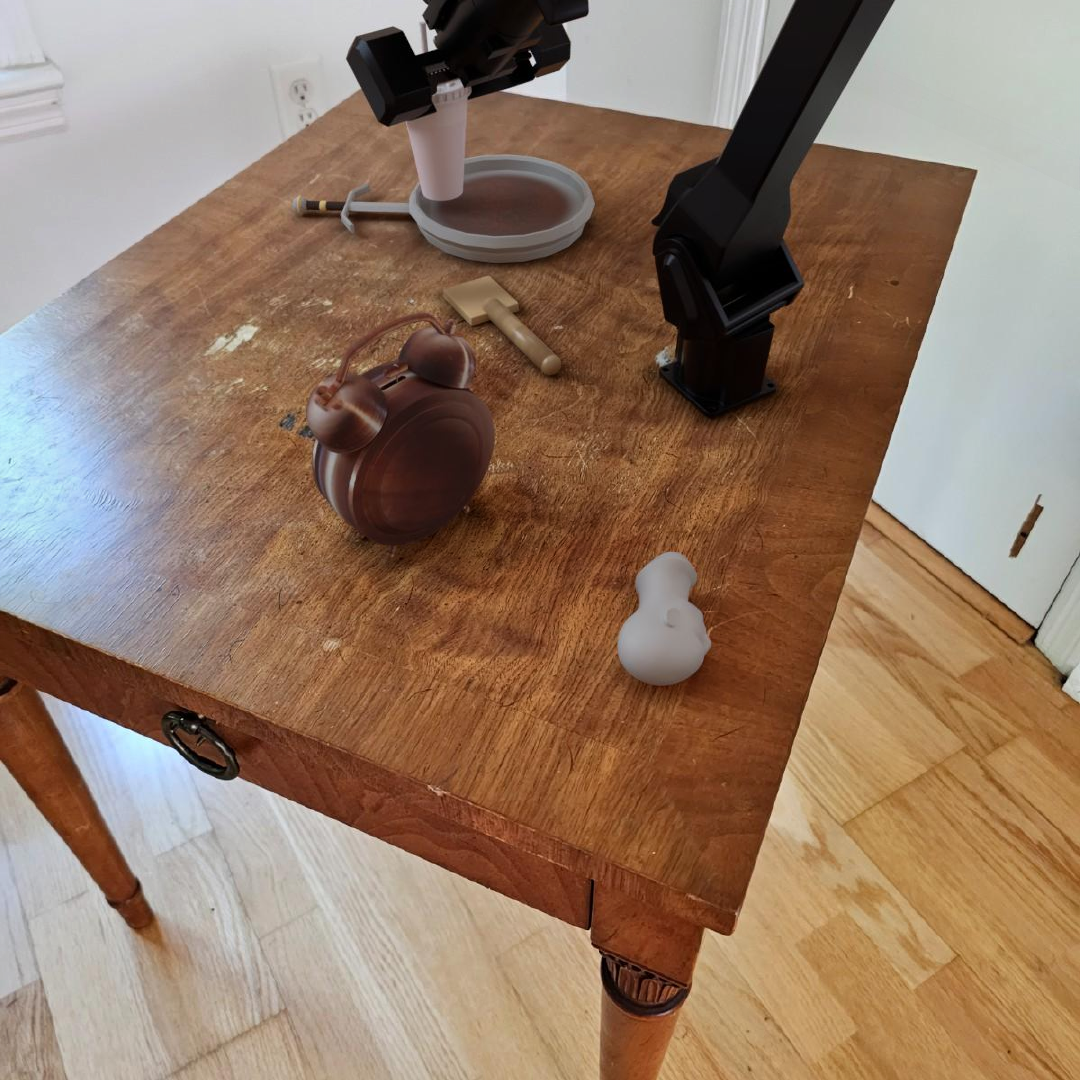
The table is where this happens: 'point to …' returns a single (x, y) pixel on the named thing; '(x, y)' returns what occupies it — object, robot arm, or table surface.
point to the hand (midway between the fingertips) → (426, 106)
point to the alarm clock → (402, 436)
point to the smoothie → (441, 139)
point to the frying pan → (491, 209)
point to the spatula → (500, 318)
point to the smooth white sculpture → (664, 624)
